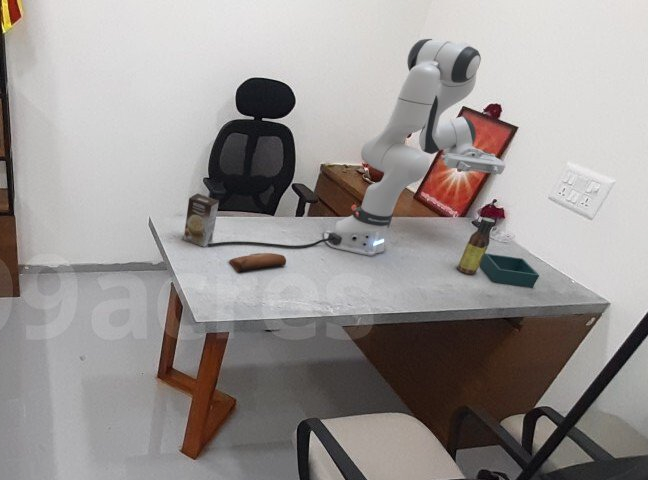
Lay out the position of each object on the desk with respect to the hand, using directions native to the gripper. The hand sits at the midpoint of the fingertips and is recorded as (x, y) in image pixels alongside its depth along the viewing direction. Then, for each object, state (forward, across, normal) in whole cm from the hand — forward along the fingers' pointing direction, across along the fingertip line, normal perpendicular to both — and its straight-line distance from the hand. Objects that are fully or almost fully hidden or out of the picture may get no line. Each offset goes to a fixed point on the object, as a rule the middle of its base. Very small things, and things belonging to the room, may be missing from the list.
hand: (481, 170), depth 183 cm
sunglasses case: (+35, -74, +32) cm, 88 cm away
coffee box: (+23, -95, +33) cm, 103 cm away
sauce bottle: (+16, +2, +32) cm, 36 cm away
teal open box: (+16, +16, +32) cm, 39 cm away
